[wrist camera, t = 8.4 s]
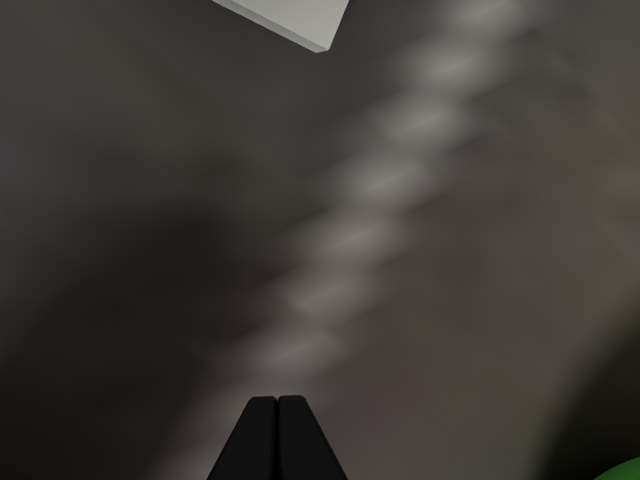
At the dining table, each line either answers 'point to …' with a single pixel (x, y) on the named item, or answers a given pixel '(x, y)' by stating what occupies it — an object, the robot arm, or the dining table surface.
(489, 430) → the dining table surface
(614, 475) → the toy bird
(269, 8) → the fader deck
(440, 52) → the dining table surface
